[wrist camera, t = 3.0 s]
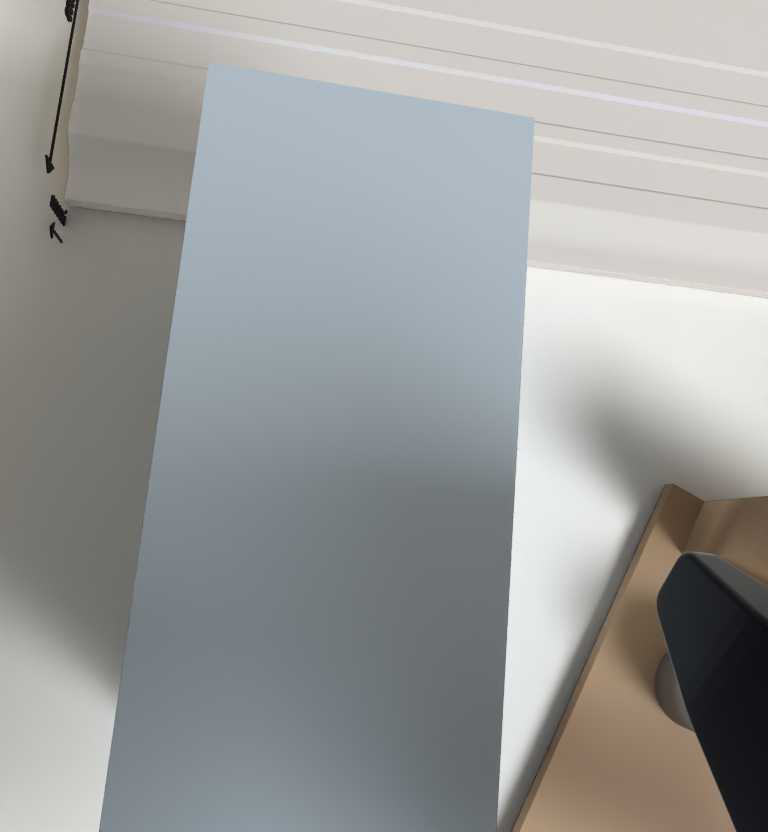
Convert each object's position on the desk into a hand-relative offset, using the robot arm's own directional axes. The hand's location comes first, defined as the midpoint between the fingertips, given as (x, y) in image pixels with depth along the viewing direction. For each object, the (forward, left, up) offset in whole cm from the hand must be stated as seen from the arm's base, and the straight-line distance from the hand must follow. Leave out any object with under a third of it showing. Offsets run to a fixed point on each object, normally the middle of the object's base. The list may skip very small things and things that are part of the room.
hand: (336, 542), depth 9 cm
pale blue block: (+1, 0, -10) cm, 10 cm away
